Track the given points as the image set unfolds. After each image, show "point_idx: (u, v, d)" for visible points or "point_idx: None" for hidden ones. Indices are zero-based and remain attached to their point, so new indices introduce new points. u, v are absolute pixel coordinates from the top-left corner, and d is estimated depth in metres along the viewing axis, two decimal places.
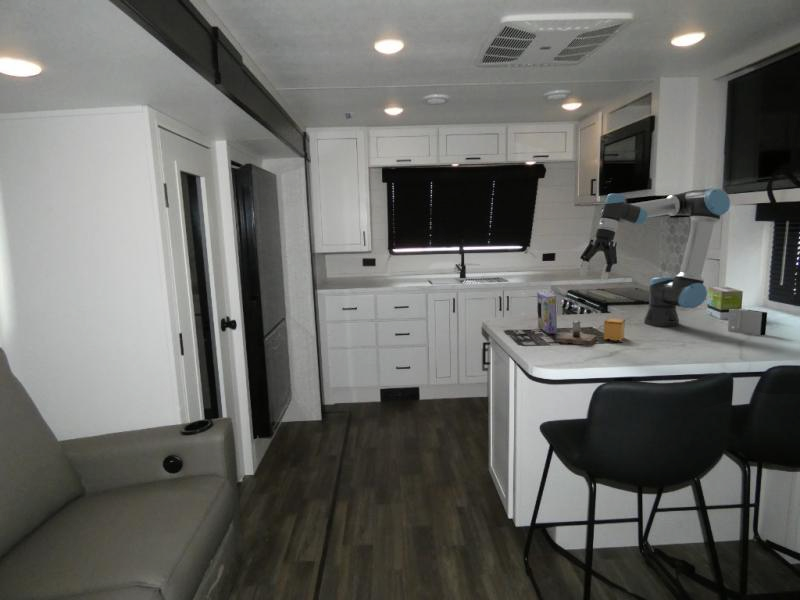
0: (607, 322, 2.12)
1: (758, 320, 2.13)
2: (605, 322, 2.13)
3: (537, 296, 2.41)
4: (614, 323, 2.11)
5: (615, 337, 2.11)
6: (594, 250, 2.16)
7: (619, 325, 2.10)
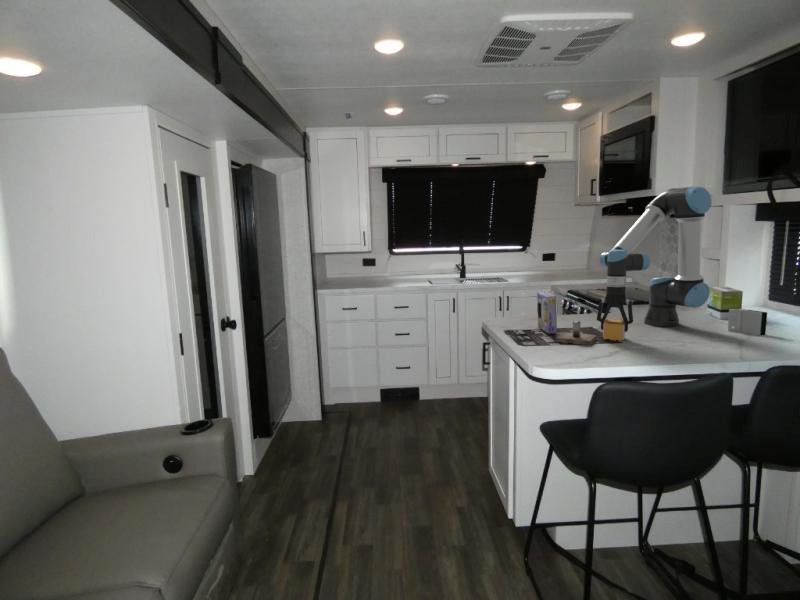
0: (607, 322, 2.12)
1: (758, 320, 2.13)
2: (605, 322, 2.13)
3: (537, 296, 2.41)
4: (614, 323, 2.11)
5: (615, 337, 2.11)
6: (609, 308, 2.14)
7: (619, 325, 2.10)
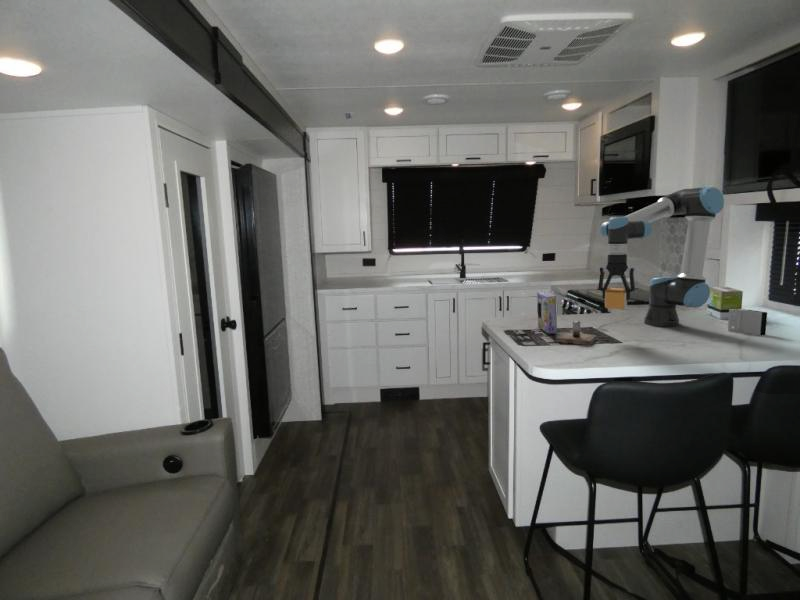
0: (609, 291, 2.10)
1: (758, 320, 2.13)
2: (606, 291, 2.11)
3: (537, 296, 2.41)
4: (616, 291, 2.09)
5: (617, 306, 2.09)
6: (611, 276, 2.12)
7: (621, 293, 2.08)
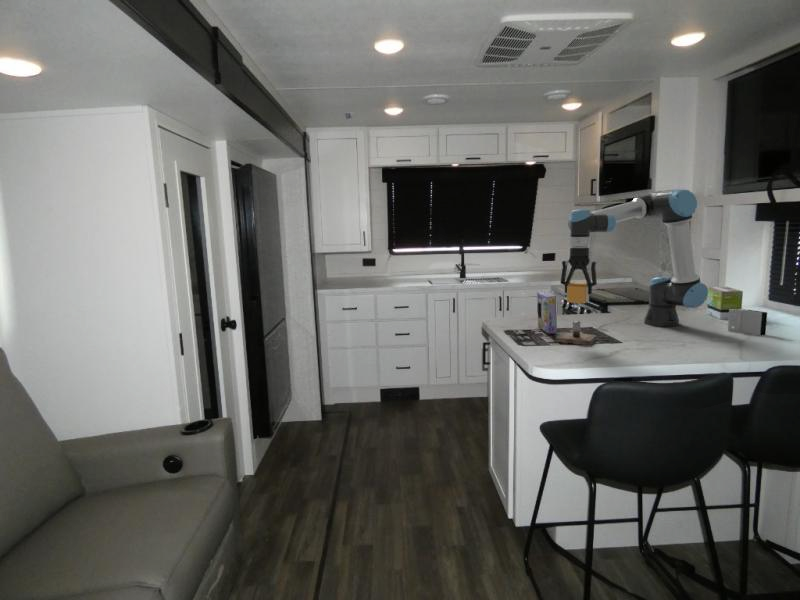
0: (570, 284, 2.07)
1: (758, 320, 2.13)
2: (568, 284, 2.07)
3: (537, 296, 2.41)
4: (577, 285, 2.05)
5: (578, 300, 2.06)
6: (573, 270, 2.08)
7: (582, 287, 2.04)
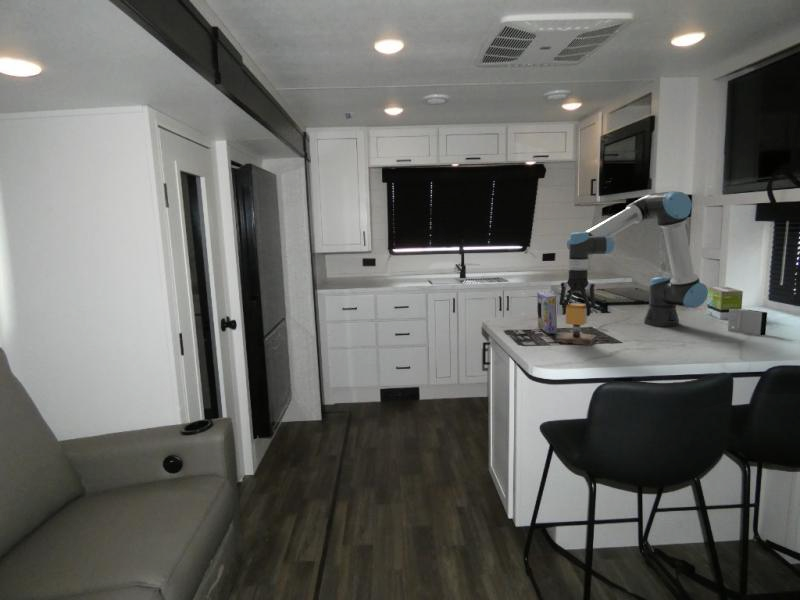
0: (569, 306, 2.08)
1: (758, 320, 2.13)
2: (567, 306, 2.09)
3: (537, 296, 2.41)
4: (576, 307, 2.07)
5: (577, 321, 2.07)
6: (572, 292, 2.10)
7: (581, 309, 2.06)
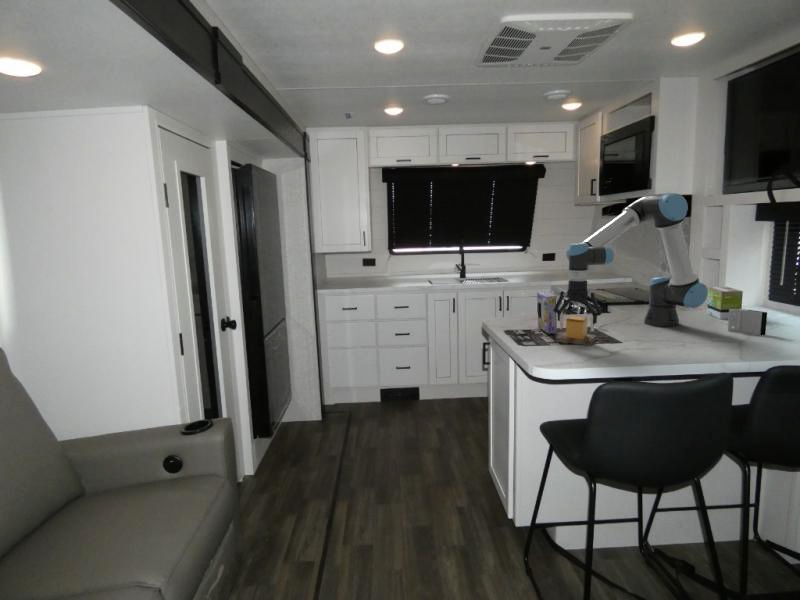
0: (569, 320, 2.09)
1: (758, 320, 2.13)
2: (567, 320, 2.10)
3: (537, 296, 2.41)
4: (576, 321, 2.08)
5: (577, 335, 2.08)
6: (569, 302, 2.11)
7: (581, 323, 2.07)
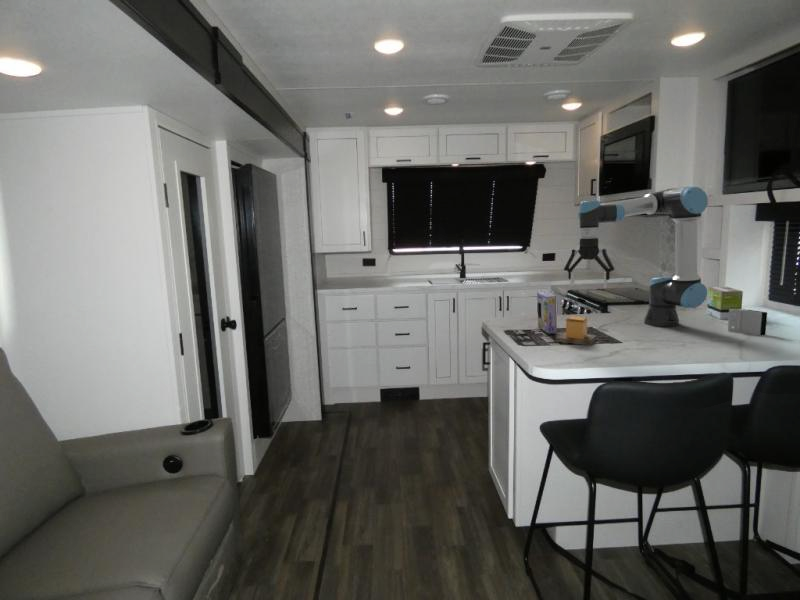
0: (569, 320, 2.09)
1: (758, 320, 2.13)
2: (567, 320, 2.10)
3: (537, 296, 2.41)
4: (576, 321, 2.08)
5: (577, 335, 2.08)
6: (580, 260, 2.12)
7: (581, 323, 2.07)
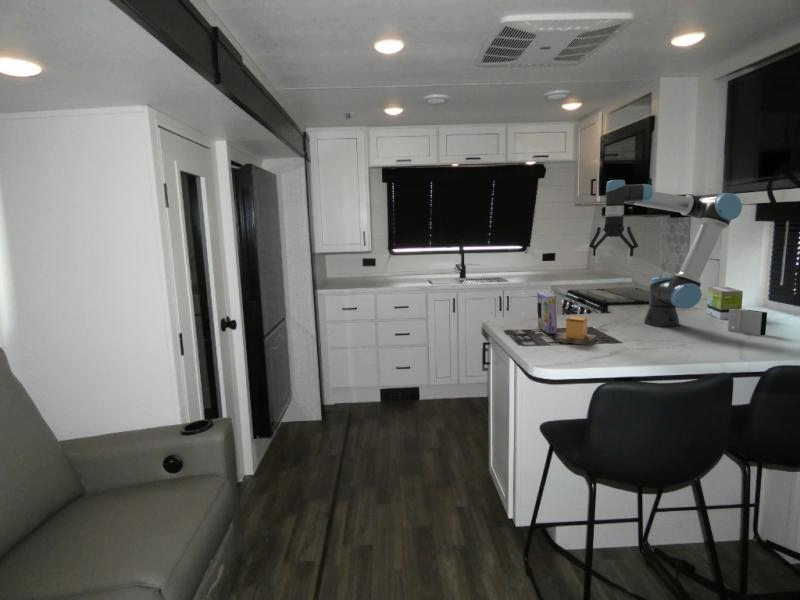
0: (569, 320, 2.09)
1: (758, 320, 2.13)
2: (567, 320, 2.10)
3: (537, 296, 2.41)
4: (576, 321, 2.08)
5: (577, 335, 2.08)
6: (605, 237, 2.22)
7: (581, 323, 2.07)
